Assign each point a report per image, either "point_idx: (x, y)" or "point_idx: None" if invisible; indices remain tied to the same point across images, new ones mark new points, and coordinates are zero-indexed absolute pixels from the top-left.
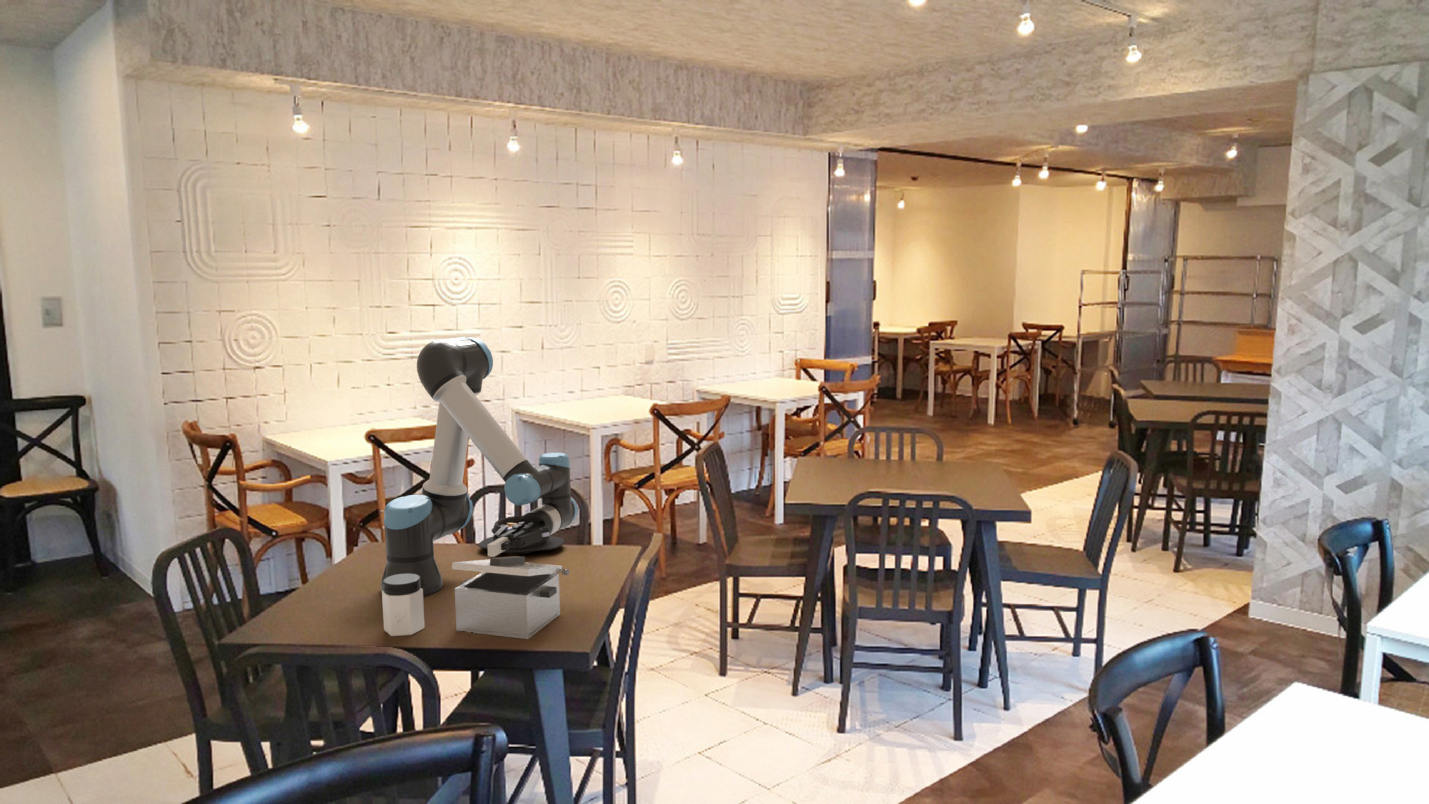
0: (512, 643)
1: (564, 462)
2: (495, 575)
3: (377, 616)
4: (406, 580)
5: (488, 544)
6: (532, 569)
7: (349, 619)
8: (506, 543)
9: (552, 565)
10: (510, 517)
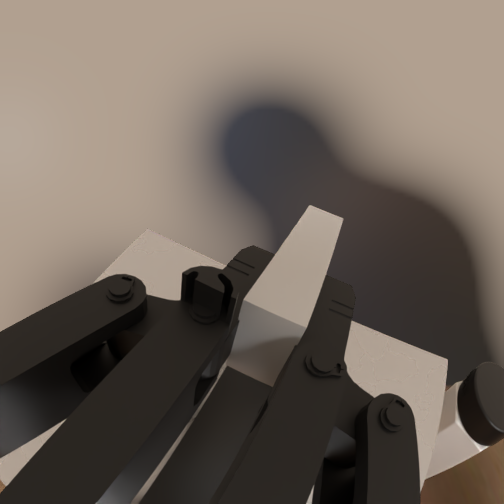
0: None
1: None
2: None
3: (476, 493)
4: (490, 384)
5: (338, 217)
6: (127, 250)
7: (497, 470)
8: (243, 252)
9: None
10: None
